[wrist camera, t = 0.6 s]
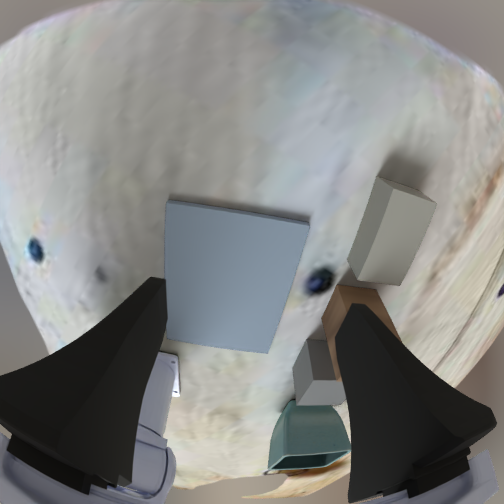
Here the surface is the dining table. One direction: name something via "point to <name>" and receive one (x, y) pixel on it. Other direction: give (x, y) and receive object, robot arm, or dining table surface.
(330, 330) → the tall walnut block
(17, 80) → the dining table surface
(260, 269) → the slate mat
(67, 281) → the dining table surface
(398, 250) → the pale grey block
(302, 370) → the grey cube
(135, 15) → the dining table surface
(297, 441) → the flower pot
